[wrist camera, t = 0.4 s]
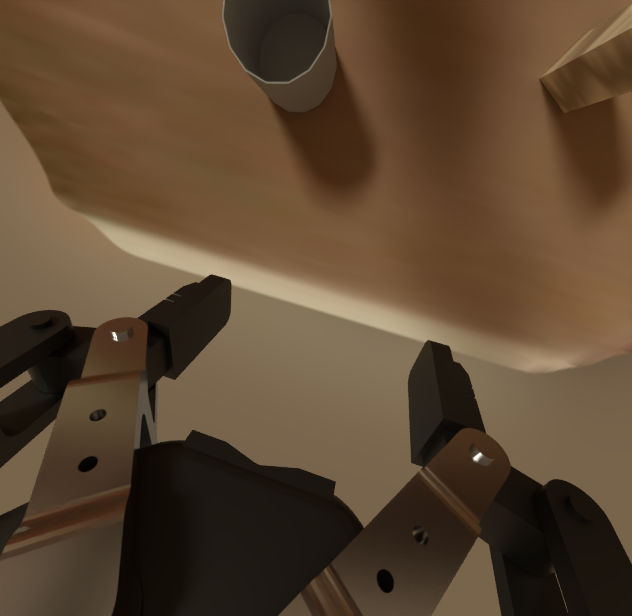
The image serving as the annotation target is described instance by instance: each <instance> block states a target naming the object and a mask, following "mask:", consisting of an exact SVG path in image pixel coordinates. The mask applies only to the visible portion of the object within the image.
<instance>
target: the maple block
mask: <svg viewBox="0 0 632 616" xmlns="http://www.w3.org/2000/svg"><path fill="white" fill-rule="evenodd" d="M540 80H541V81H542V83H543V84H544V86H545V87H546V88H547V90H548V91H549V93H550V94H551V95H552V97H553V98H554V100H555V101H556V102H557V104H558V105H559V106H560V108H561V109H562V111H563V112H564V113H567V112H570V111H573V110H576V109H579V108H582V107H585V106H588V105H591V104H594V103H597V102H600V101H603V100H606V99H609V98H612V97H616V96H619V95H622V94H625V93H628V92H631V91H632V4H631V5H630V6H628V7H626V8H625V9H623V10H622V11H620V12H619V13H617V14H615V15H614V16H612V17H611V18H609V19H608V20H606V21H604V22H603V23H601V24H600V25H598V26H597V27H595V28H593V29H592V30H590V31H589V32H587V33H586V34H584V35H583V36H582V37H581V38H580V39H579V40H578V41H577V42H576V43H575V44H574V45H573V46H572V47H571V48H570V49H569V50H568V51H567V52H566V53H565V54H564V55H563V56H562V57H561V58H560V59H559V60H558V61H557V62H556V63H555V64H554V65H553V66H552V67H551V68H550V69H549V70H548V71H547V72H546V73H545V74H544V75H543V76H542V77H541V78H540Z"/></svg>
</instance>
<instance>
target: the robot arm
mask: <svg viewBox="0 0 632 616" xmlns="http://www.w3.org/2000/svg"><path fill="white" fill-rule="evenodd" d="M230 312H231V281H230V280H229V279H226V278H222V277H219V276H216V275H209V276H208V277H206V278H205V279H204V280H202V281H201V282H200V283H197V282H195V283H192V284H189V285H186V286H183V287H182V288H180V289H179V290H177V291H176V292H174V294H171V295H170V296H169V297H167V298H166V300H163V301H161V302H160V303H158V304H157V305H156V306H154V307H153V308H151V309H150V310H148V311H147V312H146V313H144V314H143V315H141V316H140V317H138V318H131V317H126V318H125V317H124V318H117V319H113V320H110V321H107V322H105V323H103V324H102V325H100V326H99V327H98V328H91V327H78V326H72V323H71V320H70V317H69V316H68V315H67V314H66V313H64V312H62V311H56V310H44V311H37V312H32V313H29V314H26V315H23V316H21V317H18V318H16V319H14V320H12V321H10V322H9V323H7V324H5V325H3V326H1V327H0V388H1V387H3V386H4V385H5V384H7V383H9V382H10V381H12V380H13V379H14V378H16V377H17V376H19V375H20V374H22V373H23V372H25V371H26V370H27V371H28V373H29V374H30V376H31V378H32V380H30V381H29V382H27V383H26V384H25V385H23V386H22V387H20V388H19V389H18V390H16V391H15V392H14V393H12V394H11V395H9V396H8V397H7V398H5V399H4V400H2V401H1V402H0V468H1V467H2V466H3V465H4V464H5V463H7V462H8V461H9V460H10V459H11V458H12V457H13V456H14V455H15V454H17V453H18V452H19V451H20V450H21V449H22V448H23V447H24V446H26V445H27V444H28V443H29V442H30V441H31V440H32V439H34V438H35V437H36V436H37V435H38V434H39V433H40V432H41V431H43V430H44V429H45V428H46V427H47V426H48V425H49V424H50V423H51V422H53V421H54V420H55V419H56V421H55V424H54V427H53V430H52V433H51V436H50V439H49V442H48V445H47V448H46V451H45V454H44V458H43V461H42V464H41V467H40V470H39V473H38V476H37V479H36V482H35V486H34V488H33V492H32V495H31V498H30V501H29V502H28V503H25V504H23V505H21V506H19V507H17V508H15V509H13V510H11V511H9V512H6V513H4V514H2V515H0V616H431V615H432V613H433V612H434V610H435V609H436V607H437V605H438V603H439V602H440V600H441V598H442V597H443V595H444V593H445V592H446V590H447V588H448V587H449V585H450V583H451V582H452V580H453V578H454V577H455V575H456V573H457V571H458V570H459V568H460V567H461V565H462V563H463V561H464V560H465V558H466V556H467V554H468V553H469V551H470V550H471V548H472V546H473V545H474V543H475V541H476V540H477V538H478V537H479V538H481V539H482V540H484V541H485V542H486V543H488V544H489V547H490V553H491V559H492V564H493V570H494V576H495V581H496V587H497V593H498V598H499V604H500V610H501V615H502V616H632V564H631V562H630V560H629V558H628V556H627V554H626V552H625V550H624V548H623V546H622V544H621V542H620V540H619V538H618V536H617V534H616V532H615V530H614V528H613V526H612V524H611V522H610V521H609V519H608V517H607V516H606V514H605V513H604V511H603V510H602V509H601V508H600V507H599V505H598V504H597V503H596V502H595V501H594V500H593V499H592V498H591V497H590V496H588V495H587V494H586V493H585V492H584V491H582V490H581V489H579V488H578V487H576V486H574V485H573V484H571V483H569V482H566V481H563V480H559V479H554V480H551V481H549V482H548V483H547V484H545V485H544V486H543V485H541V484H540V483H538V482H536V481H535V480H533V479H531V478H530V477H528V476H526V475H525V474H523V473H521V472H520V471H518V470H516V469H515V468H513V467H512V466H511V465H510V461H509V459H508V456H507V455H506V453H505V451H504V450H503V448H502V447H501V446H500V445H499V444H498V443H497V442H496V441H495V440H494V439H493V438H491V437H490V436H489V435H487V434H486V431H485V428H484V424H483V422H482V418H481V415H480V411H479V408H478V405H477V401H476V399H475V398H474V397H475V395H474V391H473V389H472V385H471V381H470V378H469V375H468V374H467V372H466V371H465V370H464V368H463V367H462V366H461V364H460V363H457V362H454V361H453V358H452V354H451V350H450V347H449V346H447V345H444V344H440V343H437V342H434V341H430V340H428V341H427V342H426V343H425V344H424V346H423V348H422V350H421V352H420V354H419V356H418V358H417V359H416V362H415V363H414V365H413V367H412V369H411V371H410V375H409V379H408V394H409V395H408V397H409V420H410V443H411V462H412V463H414V464H416V465H419V466H422V467H423V468H422V469H421V470H420V471H419V472H418V473H417V474H416V475H415V476H414V477H413V478H412V479H411V480H410V481H409V482H408V483H407V484H406V485H405V486H404V487H403V488H402V489H401V490H400V491H399V493H397V495H396V496H395V497H394V498H393V499H392V500H391V501H390V502H389V503H388V504H387V505H386V506H385V507H384V508H383V509H382V510H381V511H380V512H379V513H378V514H377V515H376V516H375V517H374V518H373V520H372V521H371V522H370V523H369V524H368V525H367V526H366V527H365V528H364V527H363V525H362V524H361V522H360V521H359V519H358V518H357V517H356V515H355V514H354V513H353V512H352V510H350V508H349V507H348V506H347V505H346V504H345V503H344V502H343V501H342V500H341V499H339V498H338V497H337V496H335V495H334V489H335V483H336V482H335V481H332V480H329V479H327V478H324V477H321V476H318V475H316V474H313V473H310V472H307V471H304V470H302V469H299V468H288V467H287V468H286V467H275V466H262V465H258V464H256V463H254V462H253V461H252V460H250V459H249V458H247V457H246V456H245V455H243V454H242V453H240V452H239V451H238V450H237V449H235V448H234V447H233V446H231V445H230V444H228V443H227V442H225V441H222V440H219V439H216V438H214V437H211V436H208V435H205V434H203V433H200V432H197V431H195V430H192V431H191V433H190V434H189V436H188V437H187V439H186V440H185V441H184V440H178V441H166V442H160V443H158V440H157V401H158V400H157V399H158V397H157V396H158V384H157V381H158V380H159V379H160V378H161V377H162V376H165V377H168V378H171V379H174V380H175V379H176V378H177V377H178V376H179V375H180V374H181V373H182V372H183V371H184V370H185V369H186V367H187V366H188V365H189V364H190V363H191V362H192V361H193V360H194V359H195V358H196V356H197V355H198V354H199V353H200V352H201V351H202V350H203V349H204V348H205V347H206V345H207V344H208V343H209V342H210V341H211V340H212V339H213V338H214V337H215V336H216V335H217V334H218V332H219V331H220V330H221V329H222V328H223V327H224V326H225V325H226V323H227V322H228V319H229V316H230ZM555 572H556V575H557V578H558V581H559V584H560V587H559V584H558V581H557V578H556V575H555ZM560 588H561V591H562V594H563V597H564V600H565V603H566V606H567V609H566V606H565V603H564V600H563V597H562V594H561V591H560ZM567 610H568V612H567Z"/></svg>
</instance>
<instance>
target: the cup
mask: <svg viewBox="0 0 632 616" xmlns="http://www.w3.org/2000/svg"><path fill="white" fill-rule="evenodd" d="M222 20H223V24H224V28H225V32H226V36H227V40H228V44H229V48H230V49H231V51H232V52H233V54H234V55H235V57H236V58H237V60H238V61H239V63H240V64H241V66H242V67H243V69H244V70H245V71H246V73H247V74H248V75H249V76H250V77H251V78H252V79H253V80H254V81H255V82H256V84H257V85H258V86H259V87H260V88H261V89H262V90H263V91H264V92H265V93H266V95H267V96H268V97H269V98H270V99H271V100H272V101H273V102H274V103H275V104H276V105H278V106H280V107H282V108H283V109H285V110H287V111H288V112H307V111H309V110H311V109H313V108H314V107H316V106H318V105H320V104H321V103H322V102H323V100H324V99H325V97H326V96H327V94H328V93H329V91H330V90H331V89H332V86H333V82H334V77H335V73H336V69H337V61H336V51H335V41H334V30H333V20H332V11H331V4H330V0H223V11H222Z"/></svg>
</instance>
